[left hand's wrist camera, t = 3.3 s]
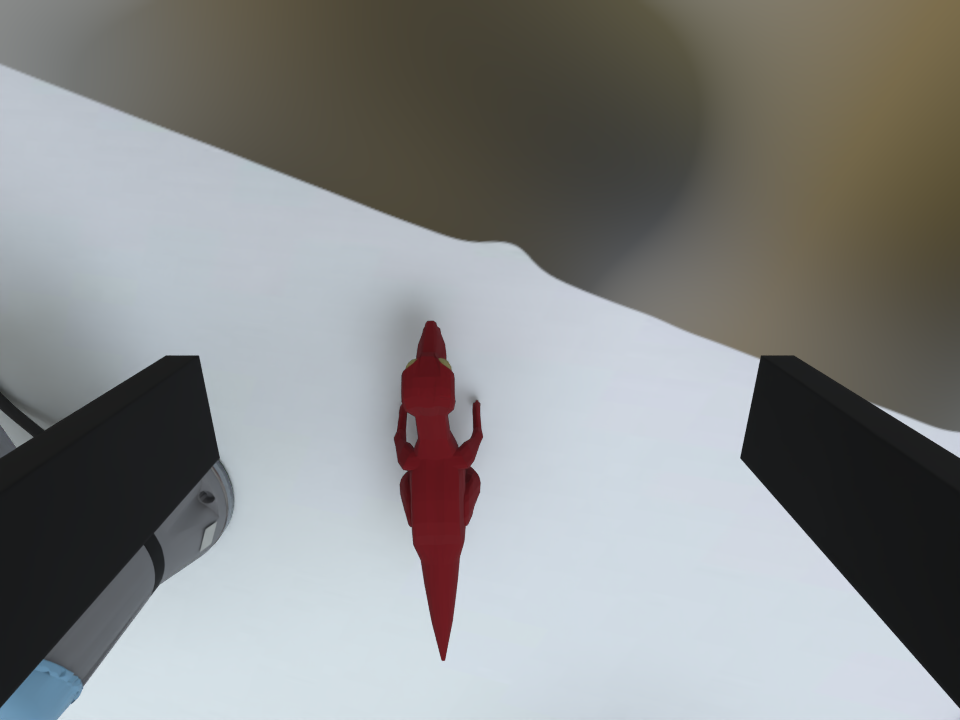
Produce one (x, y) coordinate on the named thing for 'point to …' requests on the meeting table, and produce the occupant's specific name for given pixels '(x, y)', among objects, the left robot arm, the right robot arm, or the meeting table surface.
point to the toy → (436, 476)
